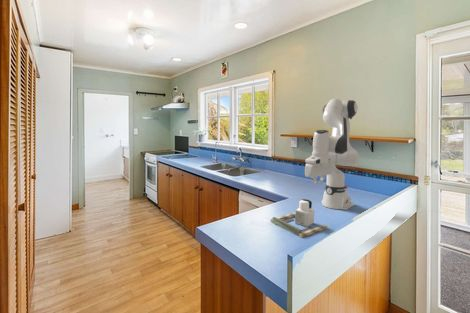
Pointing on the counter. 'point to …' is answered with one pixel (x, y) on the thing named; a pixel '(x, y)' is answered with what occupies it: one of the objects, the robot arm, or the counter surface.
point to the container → (304, 213)
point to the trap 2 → (306, 229)
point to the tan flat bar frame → (292, 228)
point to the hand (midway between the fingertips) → (318, 183)
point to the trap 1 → (288, 220)
